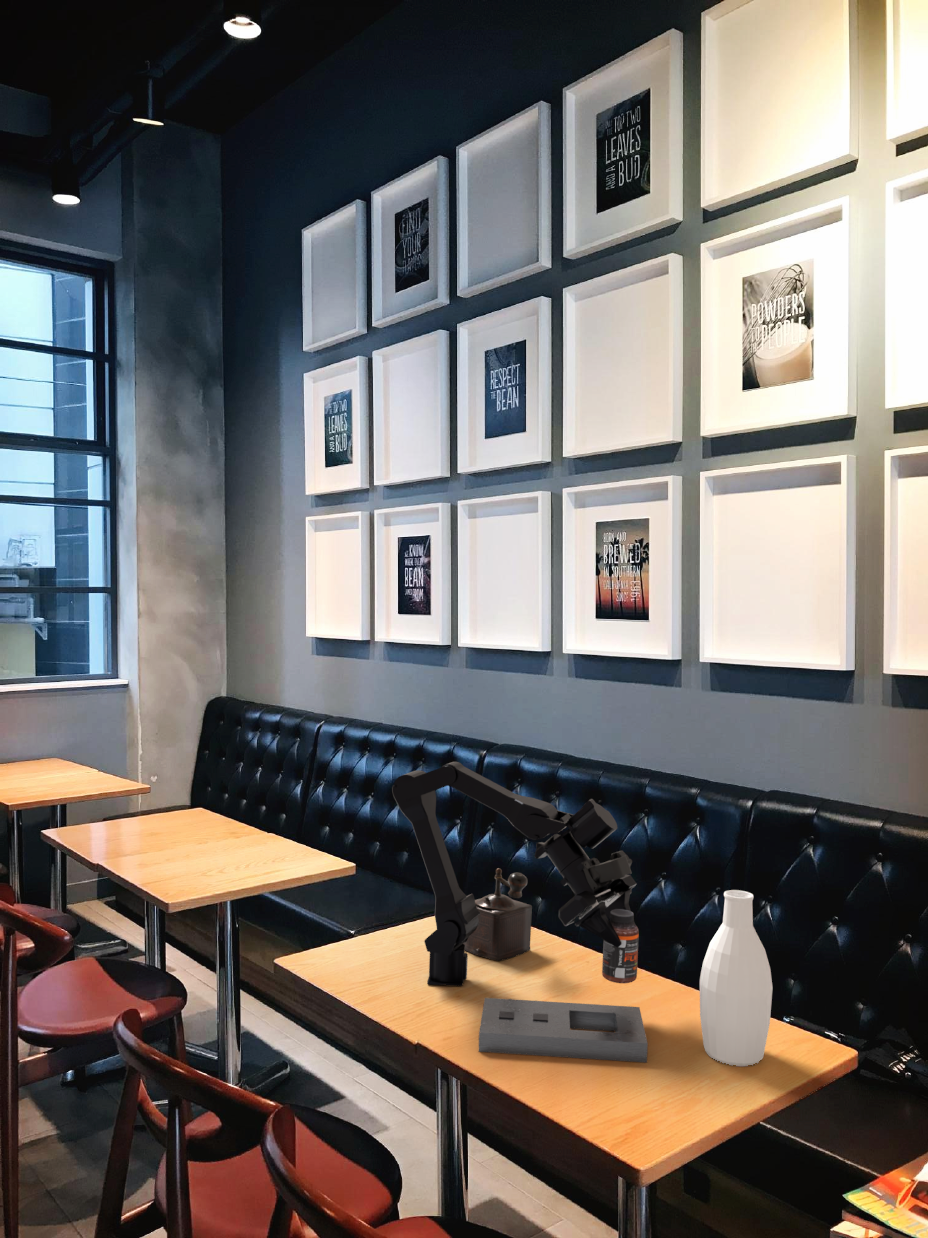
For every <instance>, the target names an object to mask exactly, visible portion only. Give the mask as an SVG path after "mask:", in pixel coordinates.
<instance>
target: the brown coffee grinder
mask: <svg viewBox="0 0 928 1238" xmlns="http://www.w3.org/2000/svg"><path fill="white" fill-rule="evenodd" d="M502 874H503V870H502V869H501V867H500V868H499V867H498V868H496V869H495V875H494V879H495V891H494V893H490V894H488V895H485V896H483V897H482V898H478V899H475V904H476V907H477V909H478V911H479V912H480V915H478V920H479V924H478V926H477V928H476V930H475V931H474V932H473V933H472V934H471V935H470V936H469V938H468V940H467V941H466V942H464V943H463V944H465V952H466V953H467V952H468V953H470V954H473V955H475V956H478V957H482V958H486V959H489V960H494V961H498V962H500V961H504V960H510V959H512V958H515V957H518V956H521V955H524V954H525V953H527V952H529V951H531V937H532V936H531V933H532V915H533V914H532V913H533V912H532V909H533V906H532V905H531V904H527V903H526V902H522V901H518V900H515V899H521V898H522V896H523V893H522V891H523V889H525V888H526V886H527V885H528V878H527V876H525V874H523V873H522V872H513V873H511V874H510V875H509V876H508V878H507V880H506V879H504V878H503V876H502ZM501 884H502V885H503V886H505V887H507V888H509V890H508V892H507V894H508V896H507V895H505V894H502V893H501ZM512 898H513V899H512Z"/></svg>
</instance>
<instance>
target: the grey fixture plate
mask: <svg viewBox="0 0 928 1238" xmlns="http://www.w3.org/2000/svg"><path fill="white" fill-rule="evenodd" d="M479 1025H480V1026H479V1031H478V1052H480V1053H495V1054H497V1053H498V1054H509V1055H525V1056H539V1057H540V1056H543V1057H556V1058H558V1057H559V1058H569V1059H570V1058H572V1059H573V1058H574V1059H585V1060H586V1059H587V1060H588V1059H590V1060H599V1061H600V1060H603V1061H616V1062H617V1061H619V1062H630V1063H631V1062H632V1063H634V1062H635V1063H648V1040H647V1035H646V1034H647V1033H646V1031H645V1026H644V1021H643V1017H642V1013H641V1009H640V1006H628V1005H627V1006H625V1005H612V1004H611V1005H610V1004H609V1005H608V1004H596V1003H595V1004H594V1003H578V1002H577V1003H576V1002H561V1001H547V1000H545V1001H543V1000H528V999H511V998H496V997H484V1002H483V1008H482V1012H481V1019H480V1024H479Z"/></svg>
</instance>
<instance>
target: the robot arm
mask: <svg viewBox="0 0 928 1238" xmlns="http://www.w3.org/2000/svg"><path fill="white" fill-rule="evenodd" d="M445 787H451V788H453V789H455V790H456V791H458V792H460V793H462V794H464V795H466V796H467V797H469V798H471V799H473V800H475V801H476V802H478V803H480V804H483V805H484V806H486V807H488V808H489V809H492V810H494V811H495V812H497V813H498V814H500V815H502V816H503V817H505V819H507V820H508V822H509V823H510V824H511V825H512V826H513V827H514V829H516V830H517V831H519V832H520V833H521V834H522V835H524V836H525V837H526V838H527V839H530V840H533V841H538V840H541V839H544V838H546V837H547V836H549V835H551V834H552V835H551V837H549V838H548V839H547V840H546V841H545V842H543V841H541V842H536V843H535V847H536V849H535V852H534V858H535V859H536V860H537V859H542V858H545V857H548V858H549V859H550V861H551V862H552V864H553V865H554V867H555V869H557V871H558V873H559V874H560V875H561V877H562V879H561V880H560V881H559V882H560V884H561V885H562V886H563V887H565V886H567V885H568V887H569V888H570V889H571V891H572V892H573V894H574V895H573V897H572V898H570V899H569V900H568V901H567V902H566V903H565V904H563V905H562V906H561V907H560V908H559V909H558V919H559V920H560V921H561V923H562V925H563V926H564V927H567V926H569V925H571V924H573V923H574V926H576V927H580V928H582V929H584V930H586V931H587V932H590V933H591V934H594V935H596V936H597V937H598V938H600V939H602V940H605V941H607V942H609V943H610V944H612V945H614V946H615V947H619V946H620V945H621V944H622V943H621V941H620V939H619V937H618V935H617V933H616V931H615V930H614V928H613V926H612V925H611V923H610V920H609V919H610V912H611V911H612V910H615V909H622V910H628V911H631V908H630V903H629V901H630V895H631V894H632V889H633V888H635V887H636V885H637V882H636V881H635V879H634V878H633V876H632V875H631V874H632V873H633V872H632V870H631V866H632V863H633V860H632V859H631V858H630V857H629V856H628V854H626V853H625V852H624V850H619V851H616V852H613V853H611V856H610V859H609V860H607V861H605V862H600V860H598V858H595V857H592V858H589V856H588V854H587V853H586V852H585V850H584V849H586V848H587V847H588V848H589V849H594V848H596V847H597V846H598V845H599V844H601V843H602V842H603V841H604V840H605V839H607V838H608V837H609V836H610V835H612V833H614V832H616V830H618V824H617V821H616V820H615V818H614V817H613V815H612V814H611V812H610V811H609V810H608V809H607V810H606V809H605V808H604V806H602V805H600V804H598V803H597V802H596V801H595V800H594V799H593V798H590V799H589V800H588V801H587V802H585V803H584V804H583V805H582V807H581V808H580V809H579V810H578V811H577V812H575V813H574V814H572V813H570V812H569V813H568V812H565V811H562V810H558V809H557V808H556V807H555V806H554V805H553V804H551V803H550V802H547V801H544V800H541V799H538V798H536V797H529V796H524V795H520V794H517V793H515V792H513V791H511V790H509V789H508V788H505V787H503V786H501V785H500V784H498V783H496V782H494V781H492V780H491V779H489V778H487V777H484V776H483V775H481V774H480V773H477V772H475V771H473V770H471V769H469V768H468V767H466V766H464V765H463V764H462V763H461V762H458V761H452V762H449V763H446V764H444V765H442V766H441V767H439V768H438V767H437V768H436V769H432V770H431V771H428V772H426V771H424V770H420V769H419V770H418V769H417V770H413V771H411V772H408V773H405V774H402V775H400V776H398V777H397V778H396V779H395V781H394V782H393V785H392V787H391V792H392V796H393V799H394V800H395V802H396V804H397V807H398V808H399V810H400V811H401V813H402V814H403V815H404V817H406V819H407V820H408V821H409V822H410V823H411V825H412V829H413V831H414V835H415V837H416V840H417V844H418V846H419V849H420V852H421V853H420V854H421V857H422V859H423V862H424V866H425V868H426V872H427V875H428V878H429V881H430V884H431V887H432V890H433V893H434V896H435V897H434V898H435V904H434V905H435V906H434V919H435V924H436V925H435V926H436V929H435V931H433V932H432V933H431V934H430V935H429V936H427V937H426V938H425V939H424V941H423V942H424V945H425V949H426V951H427V952H428V953H429V966H428V969H429V970H428V977H427V985H432V986H433V985H435V986H449V987H450V986H451V987H463V985H464V981H465V980H466V979H467V976H468V959H469V958H468V956H469V954H468V953H467V952H466V951H465V944H463V943H464V942H466V941H467V940H468V938H469V936H470V935H471V934H472V933H473V932H474V931H475V930H476V928H477V926H478V924H479V920H478V915H480V912H479V911H478V909H477V907H476V904H475V900H476V899H475V896H474V894H473V893H471V894H470V893H469V894H468V895H467V894H465V893H464V892H463V890H462V889H461V888H460V886H459V883H458V880H457V877H456V873H455V871H454V867H453V865H452V862H451V859H450V855H449V852H448V850H447V846H446V844H445V840H444V836H443V834H442V831H441V828H440V826H439V825H440V824H439V822H438V819H437V816H436V814H437V813H436V809H437V808H436V807H437V795H436V794H437V793H436V790H440V789H442V788H445ZM566 828H568V829H567V830H566V831H564V832H563V833H562V834H558V833H560V832H561V831H563V830H564V829H566ZM583 848H584V849H583ZM577 917H578V921H576V920H575V919H576V918H577ZM633 922H634V924H635V925H636V923H635V920H634V921H633Z"/></svg>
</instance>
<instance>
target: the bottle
mask: <svg viewBox="0 0 928 1238" xmlns="http://www.w3.org/2000/svg"><path fill="white" fill-rule="evenodd" d="M723 897H724V904H723V915H722V923H721V924H720V926H719V927H718V930H717V931H716V933H715V934H714V936H713V937H712V939H711V940H710V942H709V944H708V947H707V950H706V953H705V956H704V959H703V961H702V967H701V971H700V976H699V1017H700V1019H699V1020H700V1024H701V1025H700V1026H701V1033H702V1043H703V1047H704V1051H705V1053H706V1054H707V1055H708V1056H709V1058H711V1059H712V1058H713V1059H712V1060H714V1059H715V1060H714V1061H716V1060H717V1061H716V1062H718V1061H720V1062H719V1063H721V1062H722V1063H721V1064H724V1063H726V1064H725V1065H727V1064H729V1065H728V1066H733V1065H736V1066H735V1067H749V1066H748V1065H752V1066H754V1065H753V1064H755V1063H757V1064H759V1063H760V1062H761V1061H760V1060H763V1058H764V1056H765V1055H764V1054H765V1049H766V1045H767V1041H768V1040H767V1038H768V1033H769V1029H770V1023H771V1012H772V1011H771V1010H772V1002H773V1001H772V999H773V982H772V981H773V980H772V972H771V971H772V970H771V966H770V963H769V959H768V955H767V952H766V949H765V947H764V945H763V942H762V941H761V940H760V937H759V935H758V933H757V932H756V929H755V927H754V922H753V920H754V916H753V915H754V914H753V900H754V894H753V893H751V892H749V891H745V890H741V889H740V890H739V889H731V890H729V889H728V890H725V891H724V892H723ZM759 1061H760V1062H759ZM755 1065H756V1064H755Z"/></svg>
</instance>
